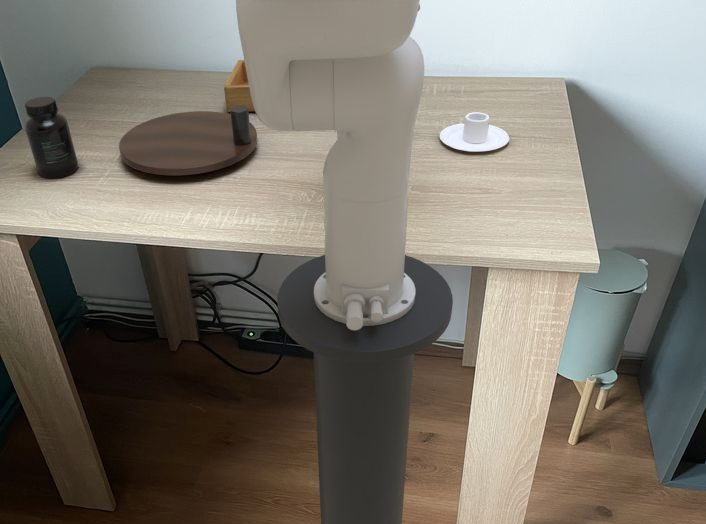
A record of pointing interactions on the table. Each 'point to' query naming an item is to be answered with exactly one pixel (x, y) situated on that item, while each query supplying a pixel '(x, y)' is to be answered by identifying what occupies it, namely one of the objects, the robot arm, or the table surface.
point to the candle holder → (474, 134)
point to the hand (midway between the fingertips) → (359, 64)
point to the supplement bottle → (49, 138)
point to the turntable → (189, 142)
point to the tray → (238, 88)
